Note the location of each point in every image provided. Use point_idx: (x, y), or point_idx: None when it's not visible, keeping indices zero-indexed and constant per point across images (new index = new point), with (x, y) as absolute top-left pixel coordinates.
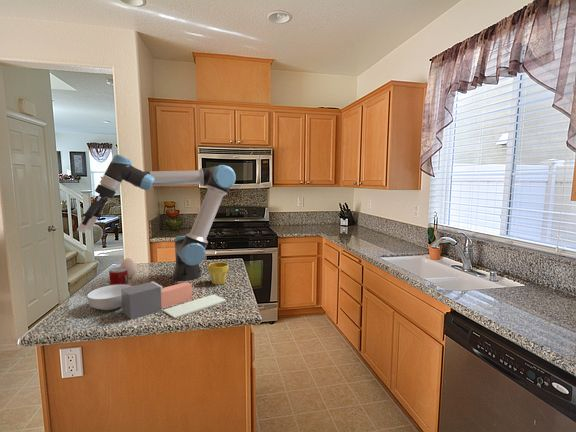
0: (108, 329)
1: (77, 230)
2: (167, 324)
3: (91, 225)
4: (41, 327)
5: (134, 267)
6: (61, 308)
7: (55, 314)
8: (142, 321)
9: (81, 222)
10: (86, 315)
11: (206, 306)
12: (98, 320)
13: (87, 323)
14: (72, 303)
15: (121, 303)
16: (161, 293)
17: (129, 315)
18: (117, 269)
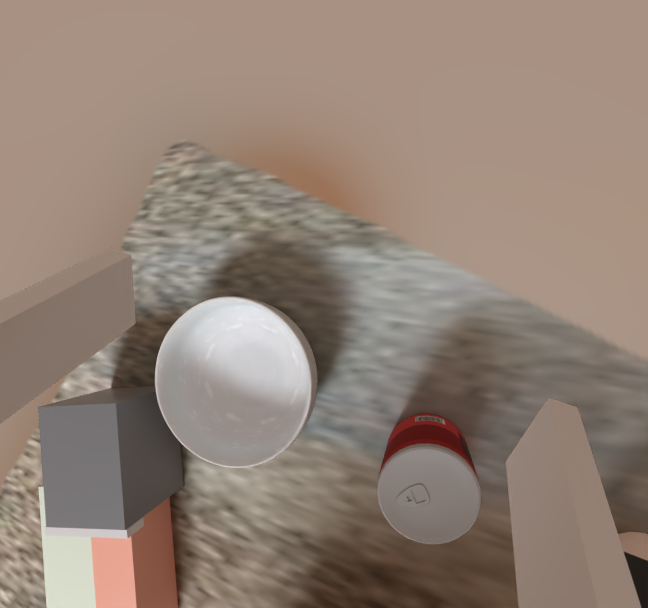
0: None
1: (108, 256)
2: (25, 453)
3: (523, 517)
4: (222, 167)
5: None
6: (360, 222)
7: (309, 203)
8: None
9: (3, 305)
10: (230, 287)
11: (47, 598)
12: (166, 311)
13: (165, 281)
14: (392, 261)
15: (184, 394)
16: None
17: (112, 389)
18: (436, 491)
